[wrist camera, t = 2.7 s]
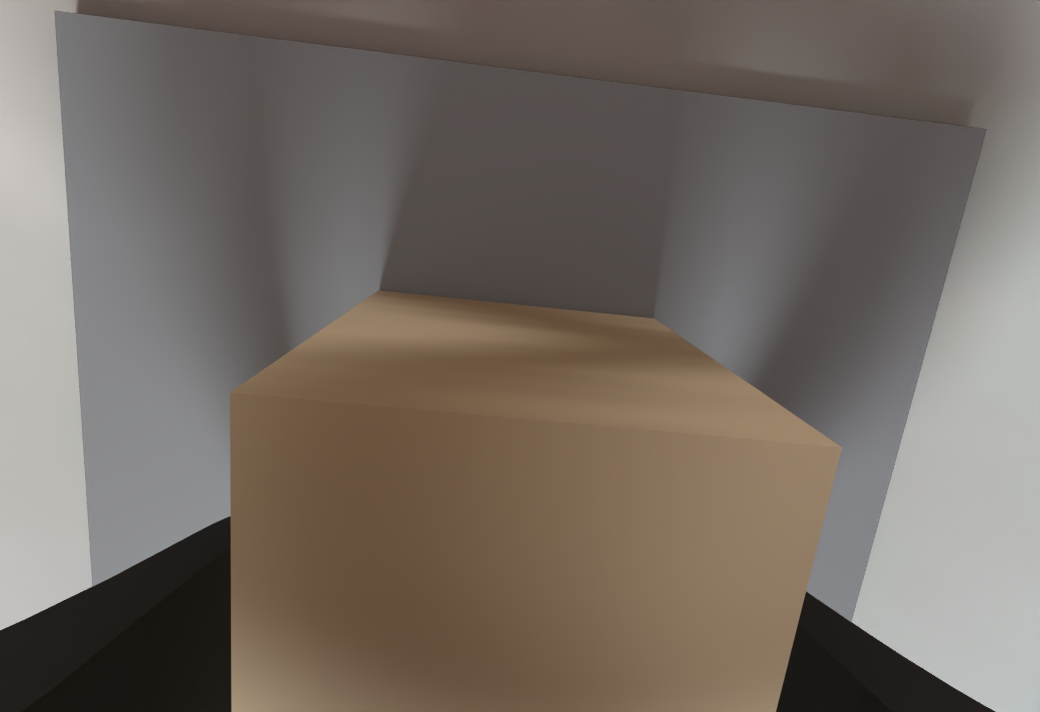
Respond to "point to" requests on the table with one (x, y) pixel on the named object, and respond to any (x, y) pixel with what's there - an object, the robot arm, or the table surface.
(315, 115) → the gray tile
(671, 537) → the birch block
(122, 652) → the robot arm
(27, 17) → the table surface
